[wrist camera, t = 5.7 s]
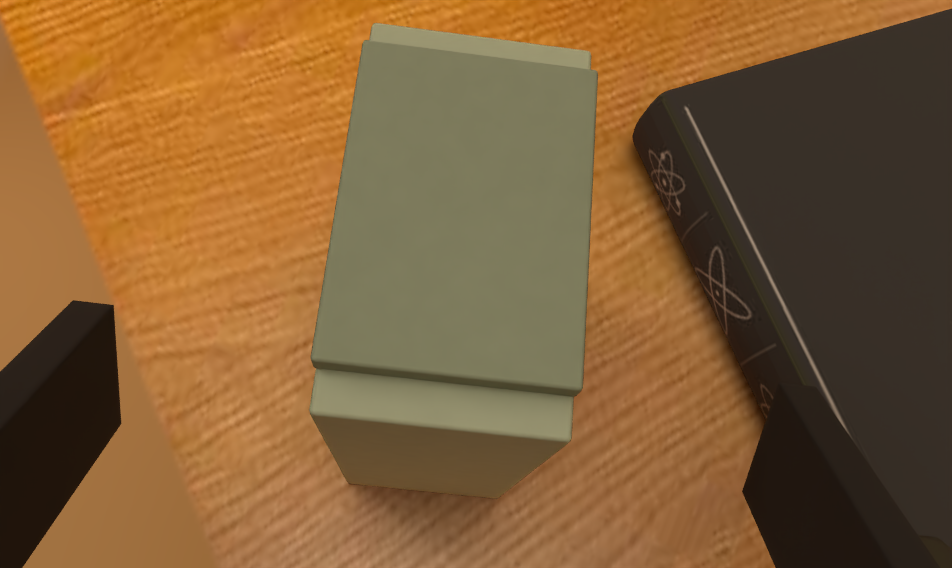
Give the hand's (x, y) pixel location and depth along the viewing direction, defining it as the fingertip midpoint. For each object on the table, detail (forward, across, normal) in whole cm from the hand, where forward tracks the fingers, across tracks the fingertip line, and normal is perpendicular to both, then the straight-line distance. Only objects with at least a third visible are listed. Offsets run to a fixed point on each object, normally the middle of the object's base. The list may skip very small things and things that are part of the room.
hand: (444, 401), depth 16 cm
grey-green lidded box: (+8, 0, -4) cm, 9 cm away
